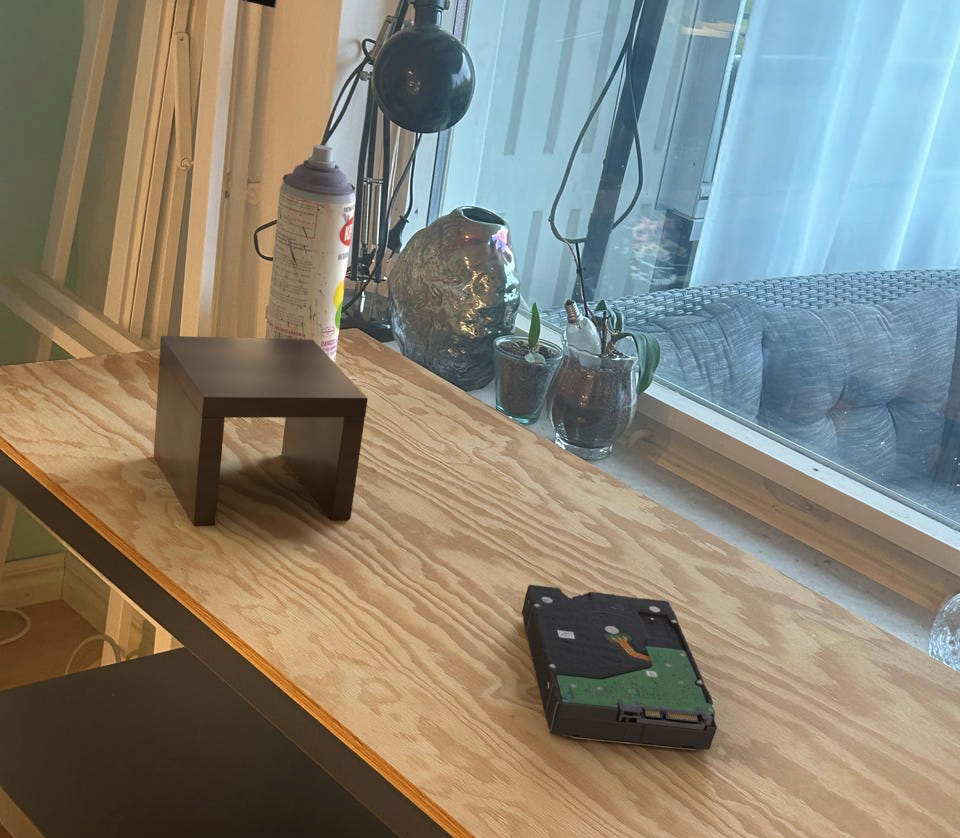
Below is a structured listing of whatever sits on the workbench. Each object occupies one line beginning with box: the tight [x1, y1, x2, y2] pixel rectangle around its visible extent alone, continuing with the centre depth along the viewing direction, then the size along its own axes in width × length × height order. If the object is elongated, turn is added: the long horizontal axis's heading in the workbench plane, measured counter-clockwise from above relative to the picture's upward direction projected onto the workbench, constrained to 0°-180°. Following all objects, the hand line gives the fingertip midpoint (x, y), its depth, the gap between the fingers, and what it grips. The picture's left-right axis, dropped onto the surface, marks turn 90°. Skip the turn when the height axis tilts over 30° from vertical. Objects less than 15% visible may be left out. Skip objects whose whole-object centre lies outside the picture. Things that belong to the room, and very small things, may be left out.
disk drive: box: [521, 584, 718, 751], centre depth 86 cm, size 10×3×15 cm
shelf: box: [153, 335, 369, 527], centre depth 99 cm, size 12×12×10 cm
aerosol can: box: [264, 144, 356, 364], centre depth 123 cm, size 7×7×20 cm
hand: (244, 1), depth 107 cm, fingers open, 13 cm apart
